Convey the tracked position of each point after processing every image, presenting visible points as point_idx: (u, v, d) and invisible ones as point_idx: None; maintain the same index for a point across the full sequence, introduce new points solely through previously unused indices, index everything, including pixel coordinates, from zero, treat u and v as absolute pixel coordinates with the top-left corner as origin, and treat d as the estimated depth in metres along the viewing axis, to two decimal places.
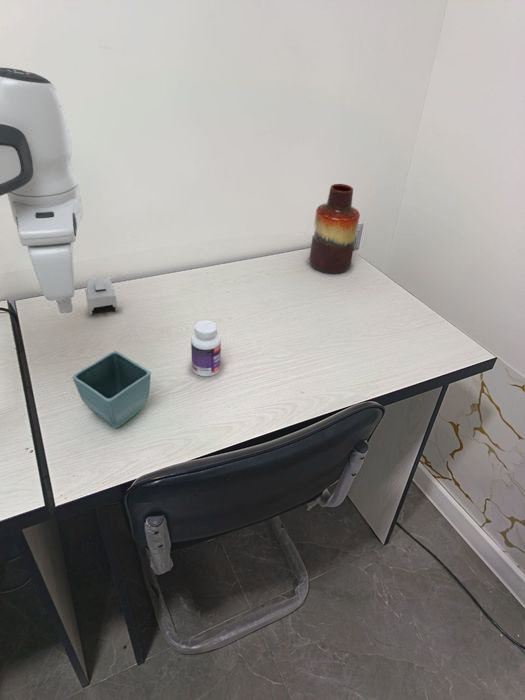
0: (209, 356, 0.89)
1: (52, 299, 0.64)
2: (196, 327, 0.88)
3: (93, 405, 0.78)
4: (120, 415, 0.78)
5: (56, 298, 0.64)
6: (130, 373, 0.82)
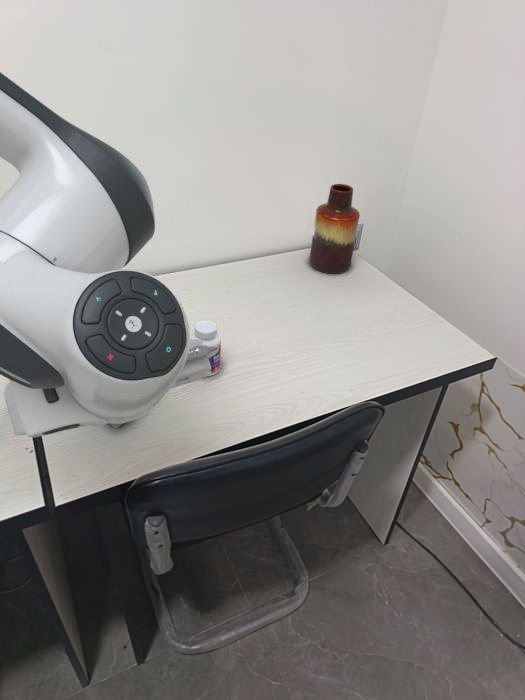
0: None
1: None
2: (196, 327, 0.88)
3: None
4: None
5: None
6: None
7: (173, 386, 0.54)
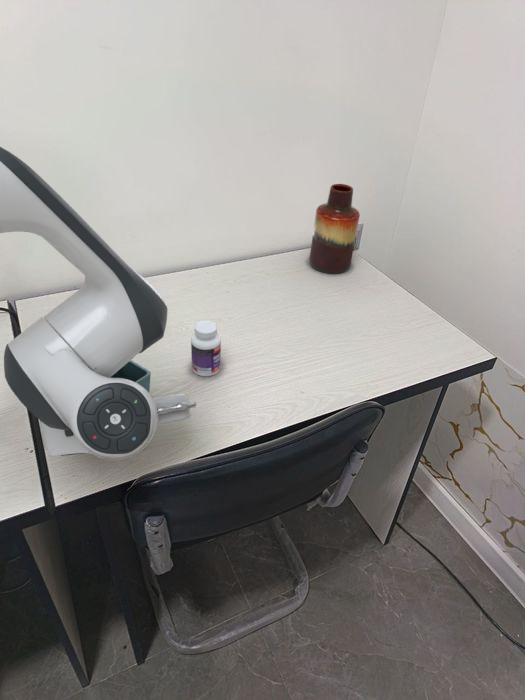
0: (209, 356, 0.89)
1: None
2: (196, 327, 0.88)
3: None
4: None
5: None
6: (130, 373, 0.82)
7: None
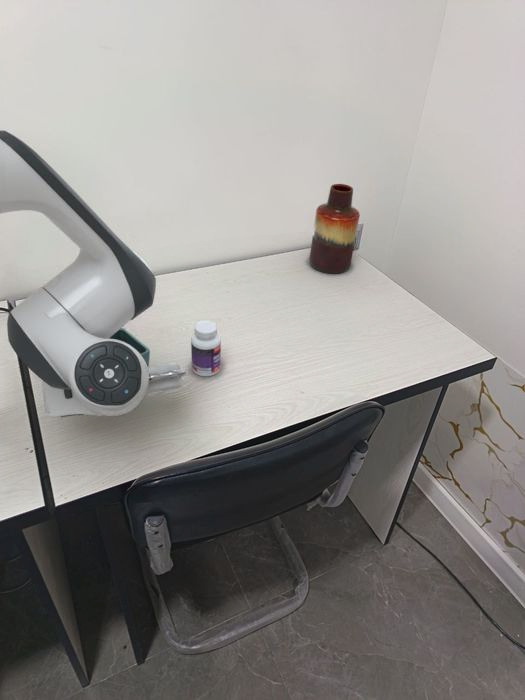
0: (209, 356, 0.89)
1: None
2: (196, 327, 0.88)
3: None
4: None
5: None
6: None
7: None
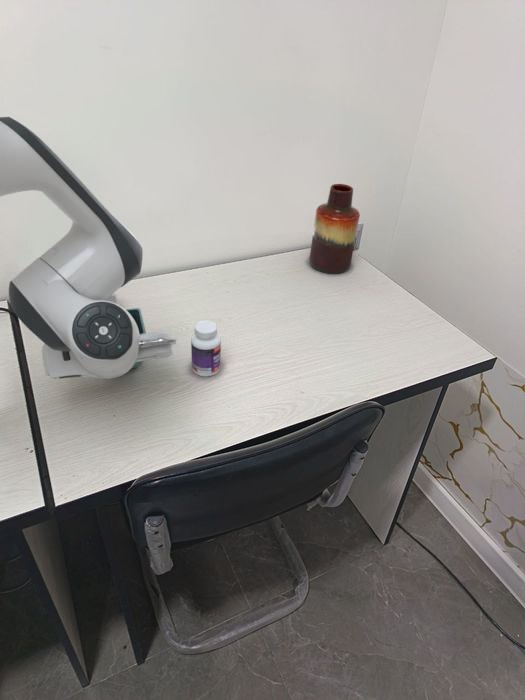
0: (209, 356, 0.89)
1: None
2: (196, 327, 0.88)
3: None
4: None
5: None
6: (140, 330, 0.91)
7: (148, 359, 0.82)
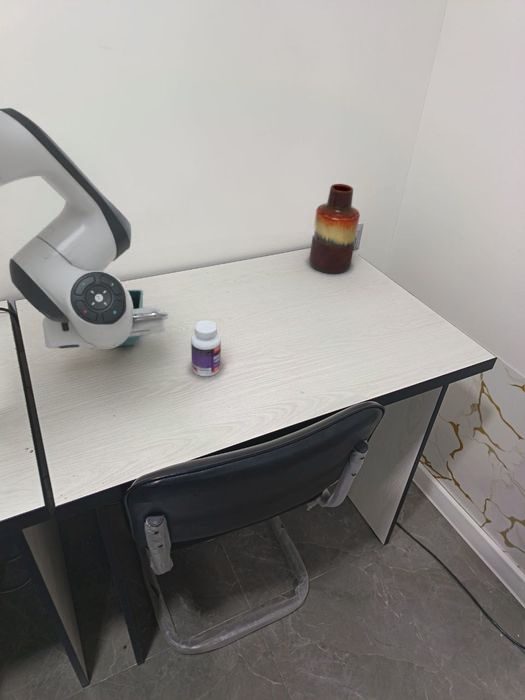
0: (209, 356, 0.89)
1: None
2: (196, 327, 0.88)
3: None
4: None
5: None
6: None
7: (142, 334, 0.88)
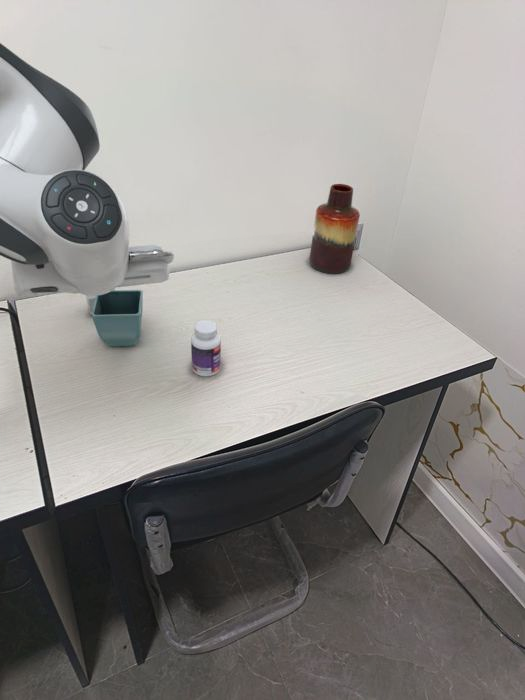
0: (209, 356, 0.89)
1: None
2: (196, 327, 0.88)
3: None
4: (106, 334, 0.94)
5: None
6: None
7: (140, 282, 0.69)
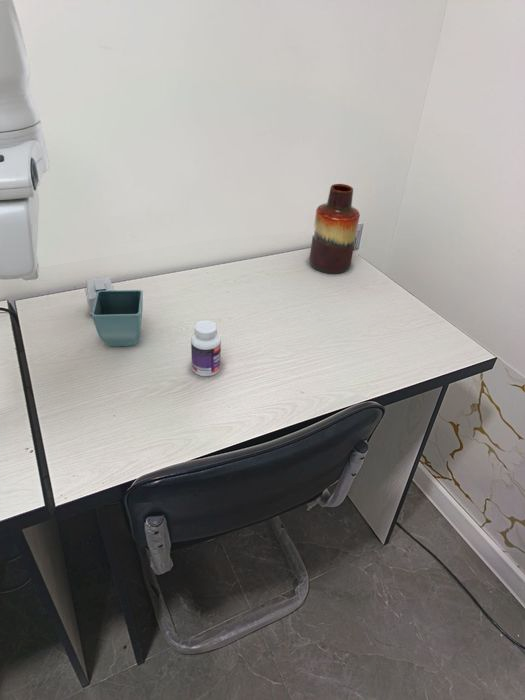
0: (209, 356, 0.89)
1: (5, 277, 0.47)
2: (196, 327, 0.88)
3: None
4: (106, 334, 0.94)
5: (10, 276, 0.47)
6: None
7: (36, 200, 0.59)
